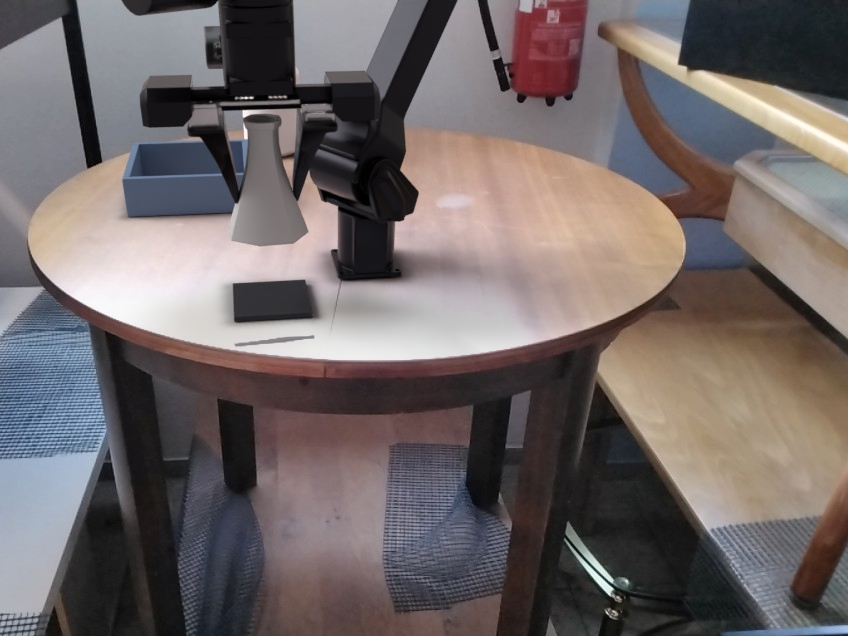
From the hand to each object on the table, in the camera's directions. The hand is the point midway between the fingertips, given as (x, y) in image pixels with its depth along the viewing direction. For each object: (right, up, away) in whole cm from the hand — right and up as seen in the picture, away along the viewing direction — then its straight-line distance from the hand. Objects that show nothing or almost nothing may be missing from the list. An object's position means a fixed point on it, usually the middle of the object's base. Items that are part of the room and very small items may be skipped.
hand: (266, 200), depth 68 cm
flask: (0, -3, +2) cm, 3 cm away
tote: (-12, +8, +30) cm, 33 cm away
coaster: (0, -8, +5) cm, 10 cm away
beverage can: (-4, +18, +46) cm, 49 cm away
